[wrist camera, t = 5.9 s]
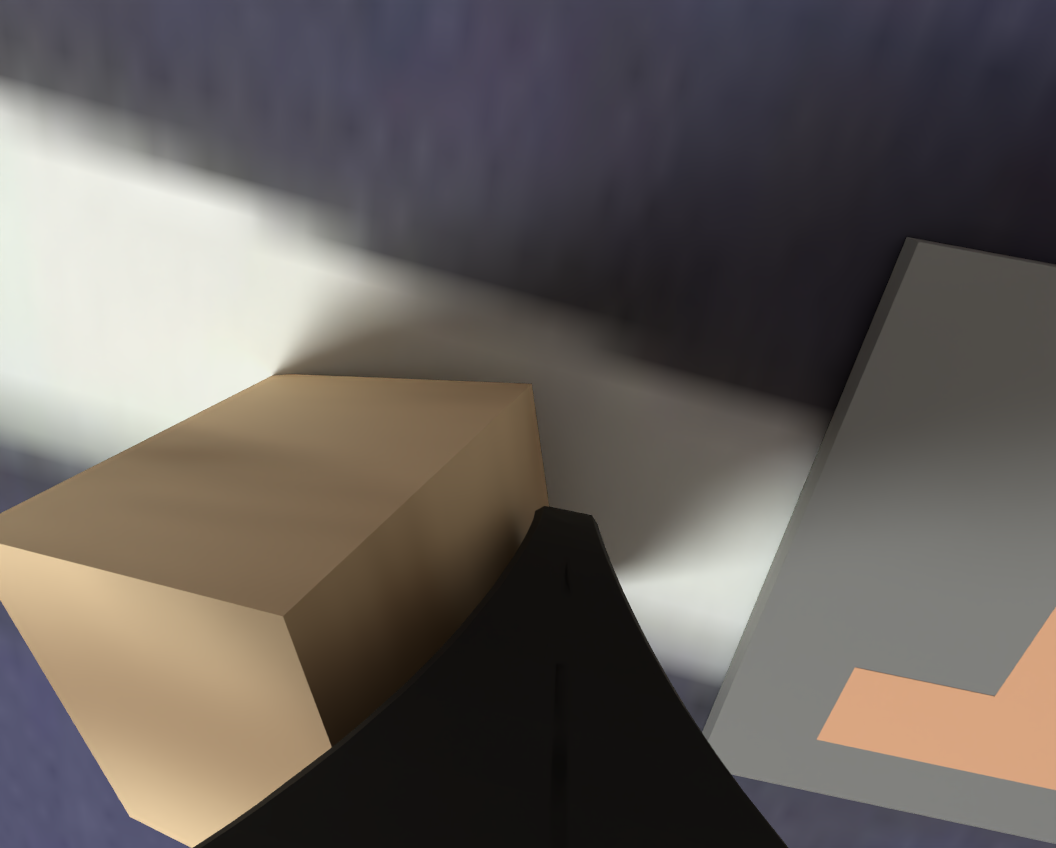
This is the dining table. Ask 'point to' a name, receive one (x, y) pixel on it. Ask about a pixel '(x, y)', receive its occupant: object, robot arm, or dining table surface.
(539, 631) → the robot arm
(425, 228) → the dining table surface
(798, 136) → the dining table surface
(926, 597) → the letter tile
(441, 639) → the oak block
